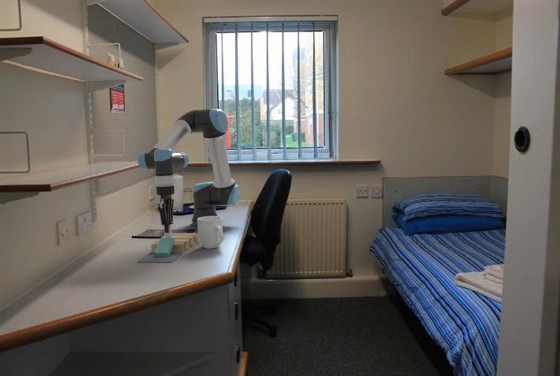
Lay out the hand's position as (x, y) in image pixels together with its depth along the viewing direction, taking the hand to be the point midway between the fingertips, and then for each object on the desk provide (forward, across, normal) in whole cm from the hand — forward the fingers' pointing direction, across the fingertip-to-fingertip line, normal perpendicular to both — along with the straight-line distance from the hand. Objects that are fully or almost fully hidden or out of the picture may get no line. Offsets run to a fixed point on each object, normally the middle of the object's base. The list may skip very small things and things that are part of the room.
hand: (168, 239), depth 197 cm
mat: (+5, +9, 0) cm, 10 cm away
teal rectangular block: (+3, +4, 0) cm, 5 cm away
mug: (+6, -8, +17) cm, 20 cm away
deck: (+5, -8, 0) cm, 10 cm away
